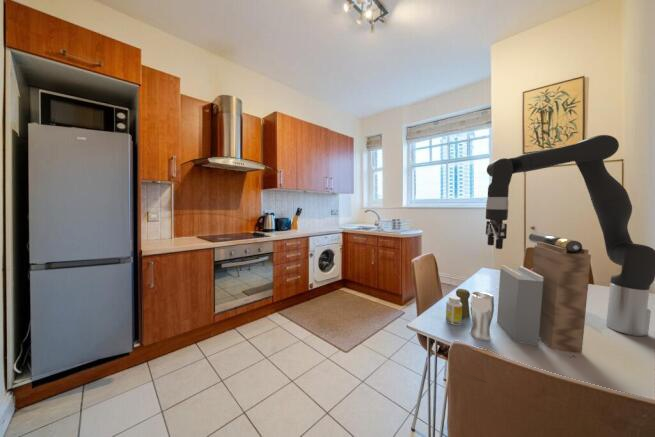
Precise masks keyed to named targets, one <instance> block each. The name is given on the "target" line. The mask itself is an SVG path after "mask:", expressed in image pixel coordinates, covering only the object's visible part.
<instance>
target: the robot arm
mask: <svg viewBox="0 0 655 437" xmlns="http://www.w3.org/2000/svg"><path fill="white" fill-rule="evenodd" d="M619 147H620V143H619V141H618V139H617V138H616V137H614V136H612V135H609V134H599V135H595V136H591V137H588V138H584V139H583V140H580V141H578V142H576V143H574V144H569V145H565V146H560V147H555V148H549V149H544V150H537V151H534V152H528V153H525V154H520V155H517V156H514V157H510V158H505V157H501V158H498V159H496V160H494V161H492V162H490V163H489V164H488V165H487V167H486V174H487V175H488V176H490V177H491V182H490V184H488V186H487V197H486V198H487V199H486V205H485V219H486V223H485V225H486V226H485V235H486V236H487V246H495V249H496V250H503V247H504V246H503V244H504V240H506V239H507V233H508V232H507V231H508V230H507V228H508V224H507V223H503V221H508V218H509V188H510V187H509V186H510V183H511V180H512V177H513V174H519V173H527V172H531V171H537V170H542V169H546V168H550V167H554V166H558V165H562V164H567V163H572V162H574V163H575V165H576V166H577V168H578V171H579V172H580V174H581V176H582V179H583V181H584V183H585V186H586V189H587V191H588V194H589V197H590V201H591V203H592V206H593V208H594V209H593V210H594V211H595V214H596V216H597V219H598V224H599V226H600V228H601V232H602V235H603V240H604V246H605V251H606V255H607V257H608V259H609V260H610V261H611V262H612V263H614V264H615V265H618V266H622V268H621V272H620V273H619V274H614V275H611V277H610V284H609V295H608V303H607V313H606V324H605V326H606V327H608V328H609V329H611V330H613V331H616V332H619V333H623V334H626V335H629V336H634V337H644V336H649V330H650V321H651V313H652V311H651V310H650V309H648V308H649V300H650V298H649V296H650V288H651V285H652V284H653V283H654V281H655V249H654V248H652V247H650V246H649V245H645V244H639V243H634V241H633V240H632V238H631V235H630V233H629V230H628V225H629V223H630V219H631V216H632V213H633V206H632V202H631V200H630V199H631V198H630V195H629V193H628V192H627V189H626V188H625V187H624V186H623V185H622V184H621V183H620V182H619V181H618V180H617V179H616V178H615V177H613V176H612V175H611V173H610V172H609V171H608V170H607V168H606V166H605V165H606V164H605V162H604V160H608V159H609V158H611V157H612V156H614V155H615V154H616V153H617V152H618V150H619Z"/></svg>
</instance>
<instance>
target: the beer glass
mask: <svg viewBox="0 0 655 437" xmlns="http://www.w3.org/2000/svg"><path fill="white" fill-rule="evenodd" d="M494 298H495V297H494V295H492V294H490V293H487V292H484V291H483V292H482V291H473V292H472V293H471V298H470V317H471V321H472V323H471V324H472V325H471V330H470V336H472V337H473V338H475V339H477V340H481V341H489V340H491V333H490V332H491V330H490V329H491V324H492V319H493V317H494V312H495V299H494Z"/></svg>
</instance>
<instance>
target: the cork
mask: <svg viewBox="0 0 655 437" xmlns="http://www.w3.org/2000/svg"><path fill="white" fill-rule="evenodd" d="M455 294H456V295H455V296H457V297H459V298H460V302H461V303H462V319H470V318H471V311H470V304H469V303H470V302H469V298H470V296H471V292H470V291H469V290H467V289H465V288H457V289H456V290H455Z"/></svg>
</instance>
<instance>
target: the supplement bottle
mask: <svg viewBox="0 0 655 437" xmlns="http://www.w3.org/2000/svg"><path fill="white" fill-rule="evenodd" d="M445 303H446V306H445V307H446V308H445V321H446V322H447V323H448V324H450V325H453V326H461V324H462V319H463V318H462V303H461V302H460V298H459V297H457V295H449V296H448V300H446V302H445Z"/></svg>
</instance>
